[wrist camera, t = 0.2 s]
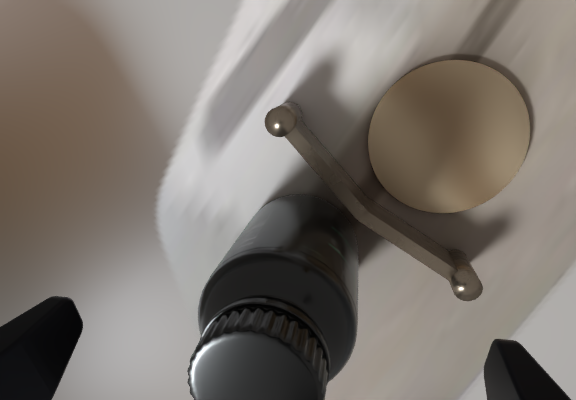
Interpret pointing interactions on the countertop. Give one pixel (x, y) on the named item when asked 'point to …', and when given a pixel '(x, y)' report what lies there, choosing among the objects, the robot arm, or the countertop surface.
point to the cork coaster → (449, 136)
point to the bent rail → (373, 205)
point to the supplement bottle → (279, 306)
